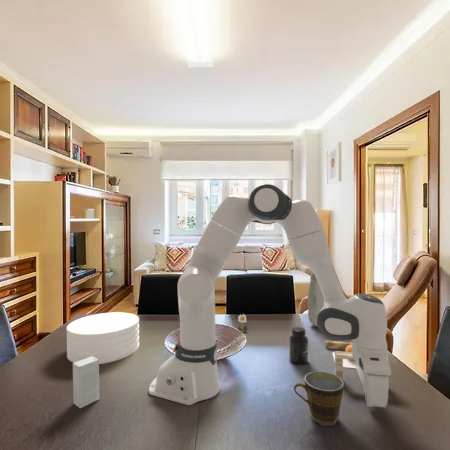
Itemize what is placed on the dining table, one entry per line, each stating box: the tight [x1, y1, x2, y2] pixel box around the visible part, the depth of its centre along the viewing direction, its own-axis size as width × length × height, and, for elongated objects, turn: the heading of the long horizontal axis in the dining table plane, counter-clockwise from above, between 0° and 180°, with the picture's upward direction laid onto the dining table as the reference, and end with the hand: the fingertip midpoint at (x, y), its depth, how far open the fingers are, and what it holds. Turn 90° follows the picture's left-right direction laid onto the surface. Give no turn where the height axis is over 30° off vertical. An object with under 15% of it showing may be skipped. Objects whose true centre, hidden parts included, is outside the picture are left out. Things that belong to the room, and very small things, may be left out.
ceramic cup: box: [293, 370, 345, 427], centre depth 80 cm, size 13×10×10 cm
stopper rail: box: [324, 339, 352, 351], centre depth 123 cm, size 16×2×2 cm, turn 76°
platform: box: [237, 313, 247, 330], centre depth 150 cm, size 12×18×7 cm, turn 179°
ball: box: [344, 345, 352, 352], centre depth 113 cm, size 6×6×6 cm
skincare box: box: [72, 356, 101, 409], centre depth 88 cm, size 6×4×12 cm
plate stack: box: [66, 311, 140, 365], centre depth 126 cm, size 28×28×12 cm
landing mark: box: [332, 351, 357, 370], centre depth 112 cm, size 12×12×1 cm
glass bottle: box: [307, 271, 324, 328], centre depth 150 cm, size 10×10×28 cm
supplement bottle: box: [288, 326, 309, 365], centre depth 113 cm, size 7×7×12 cm
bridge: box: [334, 350, 353, 382], centre depth 97 cm, size 3×14×9 cm, turn 76°
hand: (369, 403), depth 83 cm, fingers closed
